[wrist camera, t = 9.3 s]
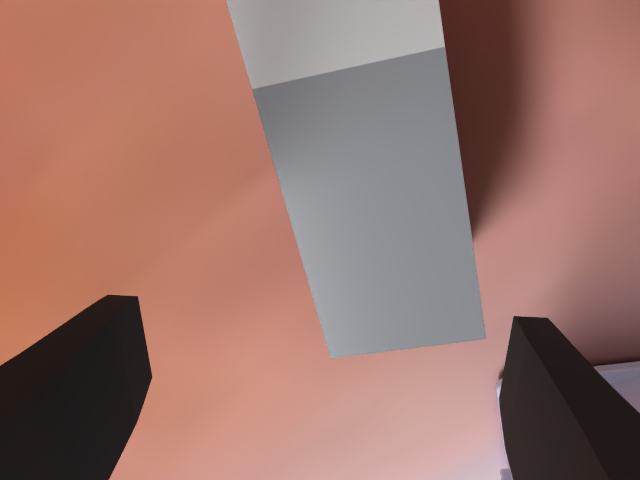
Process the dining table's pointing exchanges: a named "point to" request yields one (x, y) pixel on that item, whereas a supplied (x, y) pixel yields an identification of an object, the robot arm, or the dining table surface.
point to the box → (367, 166)
